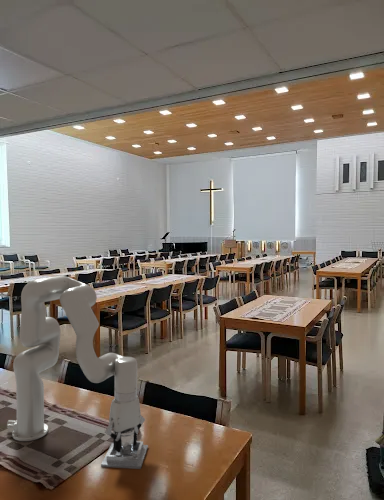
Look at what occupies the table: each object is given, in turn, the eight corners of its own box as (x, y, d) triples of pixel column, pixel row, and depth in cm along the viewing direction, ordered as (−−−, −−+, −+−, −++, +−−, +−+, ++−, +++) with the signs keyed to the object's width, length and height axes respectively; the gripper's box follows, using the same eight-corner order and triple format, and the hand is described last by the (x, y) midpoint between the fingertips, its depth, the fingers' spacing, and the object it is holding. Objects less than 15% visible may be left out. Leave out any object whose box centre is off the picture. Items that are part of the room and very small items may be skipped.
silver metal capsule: (113, 449, 136) (113, 428, 136) (128, 443, 140) (128, 423, 140) (122, 456, 132) (122, 435, 131) (137, 450, 136) (137, 430, 135)
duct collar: (101, 466, 130) (101, 458, 130) (111, 445, 143) (111, 437, 143) (140, 468, 129) (140, 460, 129) (147, 447, 142) (147, 439, 142)
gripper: (140, 385, 143) (140, 434, 144) (97, 397, 132) (97, 451, 133) (153, 391, 138) (152, 443, 139) (108, 405, 127) (108, 461, 127)
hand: (125, 446), depth 136 cm, fingers closed on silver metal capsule, 5 cm apart
